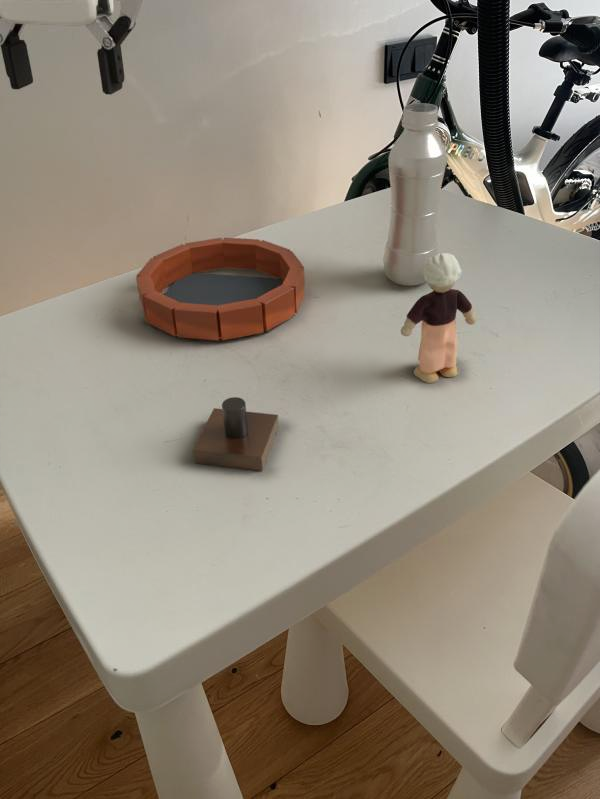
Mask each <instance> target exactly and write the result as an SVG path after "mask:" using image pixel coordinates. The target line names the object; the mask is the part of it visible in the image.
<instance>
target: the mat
mask: <svg viewBox="0 0 600 799" xmlns="http://www.w3.org/2000/svg"><path fill="white" fill-rule="evenodd" d="M282 284H283V281H282V280H281V279H279V278H277V277H265V276H264V277H263V276H261V277H260V276H248V275H235V274H234V275H233V274H218V273H204V272H196V273H192V274H190V275H188V276H185V277H183V278H181V279H179V280H177V281H175V282H173V283H172V285H171V286H170V287H169V289H168V290H167V291H166V292H165V294H164V295H165V296H167V297H169V298H171V299H174V300H176V301H178V302H180V303H190V304H203V305H216V306H218V305H224V304H229V303H235V302H240V301H246V300H251V299H256V298H258V297H260V296H262V295H264V294H266V293H268V292H269V291H271V290H273V289H275V288H277V287H279V286H281V285H282ZM146 323H147V324H149V323H148V321H146ZM269 331H270V330H268V331H265V330H264V332H263V333H264V334H268V333H269ZM263 333H262V334H263Z"/></svg>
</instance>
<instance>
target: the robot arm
mask: <svg viewBox="0 0 600 799" xmlns="http://www.w3.org/2000/svg"><path fill="white" fill-rule="evenodd" d="M116 1H117V2H118V3H119V5H120V13H119V16H118V17H117V19H116V20H115V21H114V20H113V19H112V18H111V16H112V15H113V14H114V8H115V6H114V0H0V50H1V54H2V60H3V64H4V69H5V74H6V76H7V77H8V79H9V84H10V87H11V89H12V90H21V89H23V88H25V87H28V86H29V85H31V84H32V83H34V76H33V72H32V66H31V60H30V56H29V51H28V46H27V43H26V40H25V39H20V35H21V33H22V32H23V30H24V28H25V26H26V25H34V26H35V25H36V26H37V25H38V26H64V27H65V26H66V27H83V26H85V28H87V29H88V30H89V32H90V33H91V34H92V35H93V36H94V38H95V39H96V40H97V41H98V43H99V44H100V46H101V48H98V49H97V52H96V55H97V61H98V69H99V75H100V82H101V89H102V90H101V91H102V93H104V94H105V95H111V96H112V95H113V94H115V93H117V92H118V91H121V90H122V89H123V83H124V82H125V70H124V62H123V61H124V60H123V53H122V45H123V44H124V43H125V42H126V38H127V37H128V36H129V35H130V34H131V32H132V30H133V29H134V28H135V27H136V23H137V22H136V20H137V18H138V15H139V12H140V11H141V10H140V9H141V7H142V3H143V0H116Z"/></svg>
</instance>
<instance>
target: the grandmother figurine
mask: <svg viewBox="0 0 600 799" xmlns="http://www.w3.org/2000/svg"><path fill="white" fill-rule="evenodd" d="M423 273H424V276H425V280H426V282H425V283H427V285H428V287H429V288H430V289H431V290H432V291H431V292H429V293H426V294H424V295H422V296H420V297H419V298H418V299H417V300H416V301H415V303H414V304H413V305H412V307H411V308H410V310H409V311H408V313H407V314H406V318H405V320H404V323H403V325H402V327H400V334H401V335H402V336H403V337H410V336H411V335H412V332H413V329H415V327H416V325H417V324H419V323H421V329H420V330H421V333H420V334H421V335H420V342H419V348H418V357H417V359H418V361H419V365H417V366H416V367H415V369H414V370H413V374H414V375H415V376H416V377H417V378H418V379H419V380H421V381H423V382H424V383H427V384H434V383H436V382H438V381H439V376H438V374H437V372H439V373H440V375H441V376H443V377H445V378H454V377H456V376H457V375H458V368H457V354H458V337H457V321H456V320H457V319H456V318H457V310H458V311H459V312H460V313H461V314H462V317H464V321H465V323H466V324H467V325H471V326H472V325H474V324H476V322H477V317H476V315H475V312H474V309H473V305H472V303H471V302H470V300H469V299H468V297H467V296H466V295H465V294H464V293H463V292H462V291H461V290H459V289H454V288H453V287H454V286H455V284H456V282H458V281H459V280H460V279H461V276H462V268H461V266H460V264H459V261H458V259H457V258H456V257H455V255H453V254H452V253H448V252H438V253H437V254H436V255H434V256H432V257H430V258H429V259H428V260H427V262H426V264H425V268H424V271H423Z"/></svg>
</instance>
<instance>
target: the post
mask: <svg viewBox="0 0 600 799" xmlns="http://www.w3.org/2000/svg"><path fill="white" fill-rule="evenodd" d="M279 427H280V425H279V415H278V414H273V413H263V412H255V411H247V405H246V401H245V399H243V398H241V397H239V396H238V397H237V396H233V397H229V398H226V399H225V400H223V402H222V403H221V408H215V407H214V408H213V409H212V411H211V413H210V415H209V417H208V419H207V421H206V423H205V425H204V427H203V429H202V431H201V433H200V434H199V437H198V439H197V441H196V442H195V445H194V446H193V449H192V453H193V459H194V463H195V464H200V465H209V466H217V467H226V468H234V469H242V470H252V471H259V472H263V471H264V468H265V465H266V462H267V461H268V458H269V454H270V452H271V449H272V447H273V444H274V441H275V439H276V435H277V433H278V430H279Z"/></svg>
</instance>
